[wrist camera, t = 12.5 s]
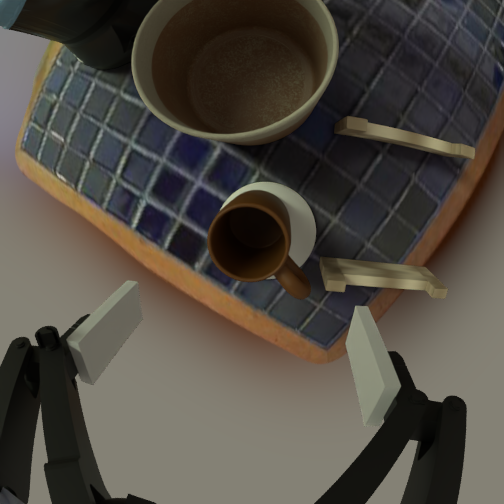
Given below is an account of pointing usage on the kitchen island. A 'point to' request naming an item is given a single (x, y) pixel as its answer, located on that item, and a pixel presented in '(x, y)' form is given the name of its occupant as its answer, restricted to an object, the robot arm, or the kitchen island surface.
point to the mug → (256, 242)
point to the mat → (299, 218)
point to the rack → (378, 273)
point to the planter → (235, 66)
